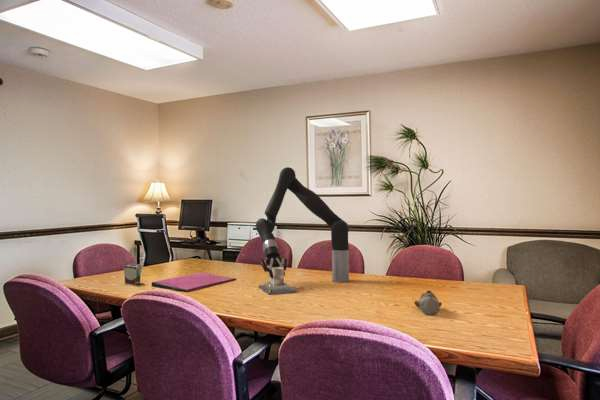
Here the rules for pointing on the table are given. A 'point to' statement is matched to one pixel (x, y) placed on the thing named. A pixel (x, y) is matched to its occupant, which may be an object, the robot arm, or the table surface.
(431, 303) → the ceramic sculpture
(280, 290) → the fixture plate
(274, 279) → the birch block
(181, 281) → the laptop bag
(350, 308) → the table surface
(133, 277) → the food container
